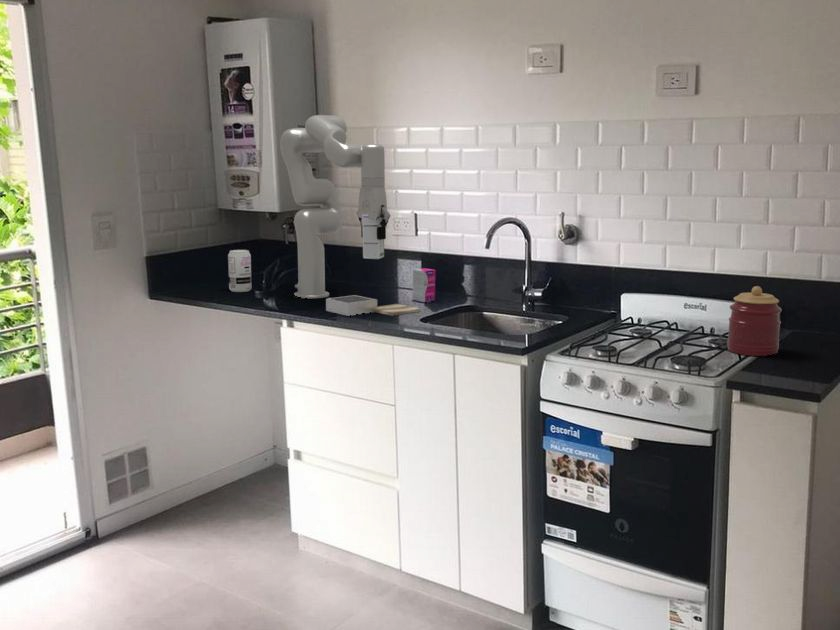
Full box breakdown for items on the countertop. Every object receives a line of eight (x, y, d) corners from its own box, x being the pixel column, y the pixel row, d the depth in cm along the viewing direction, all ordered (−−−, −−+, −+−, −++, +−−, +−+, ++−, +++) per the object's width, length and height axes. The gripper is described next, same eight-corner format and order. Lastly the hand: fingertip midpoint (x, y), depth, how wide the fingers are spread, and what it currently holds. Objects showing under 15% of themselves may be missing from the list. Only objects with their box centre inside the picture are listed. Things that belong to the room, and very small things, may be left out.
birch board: (369, 310, 293) (369, 307, 293) (397, 306, 301) (397, 303, 301) (392, 315, 285) (392, 312, 284) (420, 311, 292) (420, 308, 292)
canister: (788, 353, 236) (794, 287, 232) (759, 359, 228) (764, 291, 225) (745, 344, 246) (750, 281, 243) (716, 350, 239) (720, 285, 235)
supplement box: (423, 303, 308) (423, 270, 306) (412, 301, 312) (412, 269, 310) (435, 301, 312) (435, 269, 309) (424, 299, 316) (424, 267, 314)
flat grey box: (313, 307, 298) (313, 296, 298) (342, 303, 306) (342, 292, 305) (348, 315, 284) (347, 303, 283) (377, 311, 292) (377, 299, 291)
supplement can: (233, 288, 338) (232, 249, 335) (254, 289, 337) (253, 249, 334) (226, 292, 330) (224, 251, 327) (247, 292, 329) (246, 252, 326)
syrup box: (379, 259, 286) (379, 214, 283) (362, 258, 287) (361, 213, 284) (384, 257, 291) (384, 212, 289) (367, 256, 293) (367, 212, 290)
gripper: (347, 183, 289) (348, 237, 292) (380, 184, 276) (380, 241, 279) (366, 182, 294) (366, 235, 297) (399, 184, 281) (399, 239, 284)
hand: (373, 238), depth 288 cm, fingers closed on syrup box, 7 cm apart
